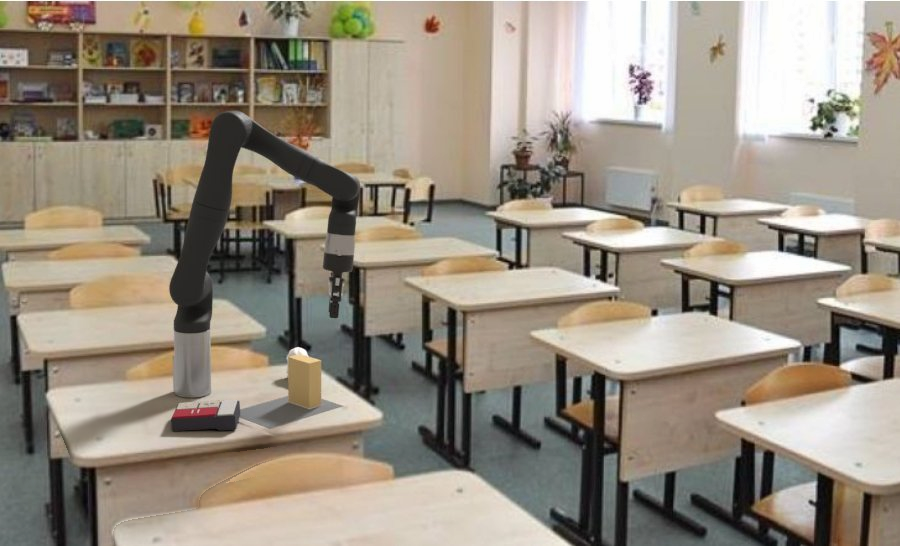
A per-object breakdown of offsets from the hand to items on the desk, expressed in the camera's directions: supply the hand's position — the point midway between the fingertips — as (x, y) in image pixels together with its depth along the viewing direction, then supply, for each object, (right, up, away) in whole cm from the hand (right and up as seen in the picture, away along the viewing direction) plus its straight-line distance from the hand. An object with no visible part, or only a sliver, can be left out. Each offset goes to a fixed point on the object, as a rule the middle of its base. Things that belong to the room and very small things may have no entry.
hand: (333, 315), depth 269 cm
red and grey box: (-29, -26, -13) cm, 41 cm away
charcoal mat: (-12, -24, -2) cm, 27 cm away
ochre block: (-8, -23, +3) cm, 24 cm away
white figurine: (-12, -19, +23) cm, 32 cm away
